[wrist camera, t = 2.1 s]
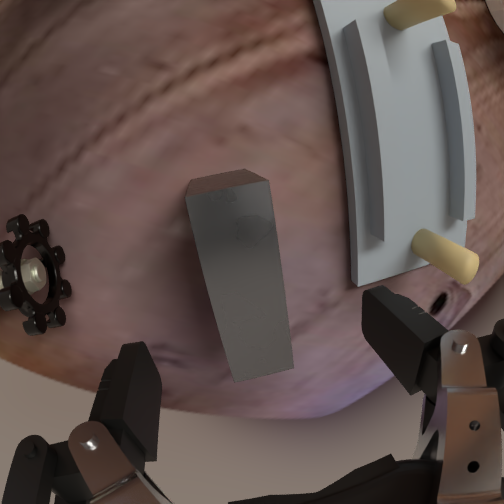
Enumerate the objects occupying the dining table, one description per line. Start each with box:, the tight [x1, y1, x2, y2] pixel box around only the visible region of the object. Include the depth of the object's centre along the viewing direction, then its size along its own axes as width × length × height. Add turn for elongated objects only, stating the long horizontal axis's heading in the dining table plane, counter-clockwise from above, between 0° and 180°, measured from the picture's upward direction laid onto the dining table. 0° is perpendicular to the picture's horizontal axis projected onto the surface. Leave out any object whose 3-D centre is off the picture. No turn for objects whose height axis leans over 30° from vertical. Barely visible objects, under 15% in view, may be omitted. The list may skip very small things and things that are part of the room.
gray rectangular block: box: [185, 169, 294, 383], centre depth 14 cm, size 9×3×6 cm, turn 10°
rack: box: [313, 0, 479, 287], centre depth 13 cm, size 20×11×6 cm, turn 10°
